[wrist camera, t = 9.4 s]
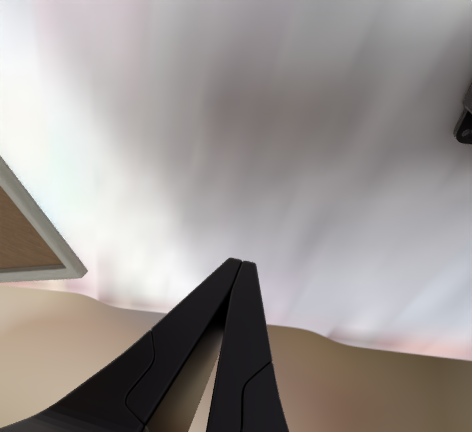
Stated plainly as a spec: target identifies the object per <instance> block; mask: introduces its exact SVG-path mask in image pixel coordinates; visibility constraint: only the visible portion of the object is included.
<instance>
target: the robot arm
mask: <svg viewBox="0 0 472 432" xmlns="http://www.w3.org/2000/svg"><path fill="white" fill-rule="evenodd" d="M463 104H464V106H465V110H464V112H463V114H462V116H461V118H460V120H459V122H458V124H457V126H456V128H455V130H454V137H455V138H456V139H457V140H458V141H459V142H461V143H465V144H472V84H471V86H470V88H469V90H468V93H467V95H466V97H465V99H464V101H463ZM468 129H470V133H469V134H468V135H466V136H461V135H462V133H463V131H465V130H468ZM219 352H220V355H219ZM218 355H219V361H218V366H217V372H216V378H215V383H214V389H213V394H212V400H211V406H210V412H209V417H208V423H207V428H206V432H289V429H288V426H287V423H286V419H285V416H284V412H283V408H282V404H281V400H280V397H279V392H278V387H277V382H276V377H275V371H274V366H273V363H272V355H271V349H270V343H269V337H268V332H267V325H266V319H265V314H264V308H263V302H262V296H261V290H260V284H259V278H258V273H257V267H256V264H255V263H254V262H249V261H243V262H242V260H240V259H235V258H228V259H227V260H226V261H225V262H224V263H223V264H222V265H221V266H220V267H218V268H217V269H216V270H215V271H214V272H213V273H212V274H211V275H210V276H208V277H207V278H206V279H205V280H204V281H203V282H202V283H201V284H200V285H199V286H197V287H196V288H195V289H194V290H193V291H192V292H191V293H190V294H189V295H188V296H186V297H185V298H184V299H183V300H182V301H181V302H180V303H179V304H178V305H176V306H175V307H174V308H173V309H172V310H171V311H170V312H169V313H168V314H167V315H165V317H163V318H162V319H161V320H160V321H159V322H158V323H157V324H156V325H154V326H153V327H152V329H151V330H149V331H148V332H146V333H145V334H144V335H143V336H142V337H141V338H140V339H139V340H138V341H136V343H134V344H133V345H132V346H131V347H129V348H128V349H127V350H126V351H125V352H124V353H122V354H121V355H120V356H118V357H117V358H116V359H115V360H113V361H112V362H111V363H109V364H108V365H107V366H105V367H104V368H103V369H101V370H100V371H99V372H97V373H96V374H95V375H93V376H92V377H91V378H89V379H88V380H87V381H85V382H84V383H82V384H81V385H80V386H79V387H77V388H76V389H74V390H73V391H72V392H70V393H69V394H67V395H66V396H65V397H63V398H62V399H61V400H59V401H58V402H57V403H55V404H53V405H52V406H50V407H49V408H47V409H45V410H44V411H42V412H40V413H38V414H36V415H34V416H31V417H29V418H27V419H24V420H22V421H19V422H16V423H13V424H11V425H8V426H5V427H2V428H0V432H188V431H189V428H190V426H191V423H192V421H193V418H194V415H195V413H196V410H197V408H198V405H199V403H200V400H201V398H202V395H203V393H204V390H205V387H206V385H207V383H208V380H209V377H210V375H211V372H212V370H213V367H214V365H215V362H216V360H217V357H218Z"/></svg>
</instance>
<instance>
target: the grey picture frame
mask: <svg viewBox="0 0 472 432" xmlns="http://www.w3.org/2000/svg"><path fill="white" fill-rule="evenodd" d="M86 273H87V269H86V268H85V266H84V265H83V264H82V262H81V261H80V260H79V258H78V257H77V256H76V254H75V253H74V252H73V251H72V249H71V248H70V247H69V245H68V244H67V243H66V241H65V240H64V239H63V237H62V236H61V235H60V233H59V232H58V231H57V230H56V228H55V227H54V226H53V224H52V223H51V222H50V220H49V219H48V218H47V216H46V215H45V214H44V213H43V211H42V210H41V209H40V207H39V206H38V205H37V203H36V202H35V201H34V199H33V198H32V197H31V195H30V194H29V193H28V192H27V190H26V189H25V188H24V186H23V185H22V184H21V182H20V181H19V180H18V178H17V177H16V176H15V174H14V173H13V172H12V171H11V169H10V168H9V167H8V165H7V164H6V163H5V161H4V160H3V159H2V157H1V156H0V282H19V281H39V280H58V279H77V278H82V277H83V276H84V275H85V274H86Z"/></svg>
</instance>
